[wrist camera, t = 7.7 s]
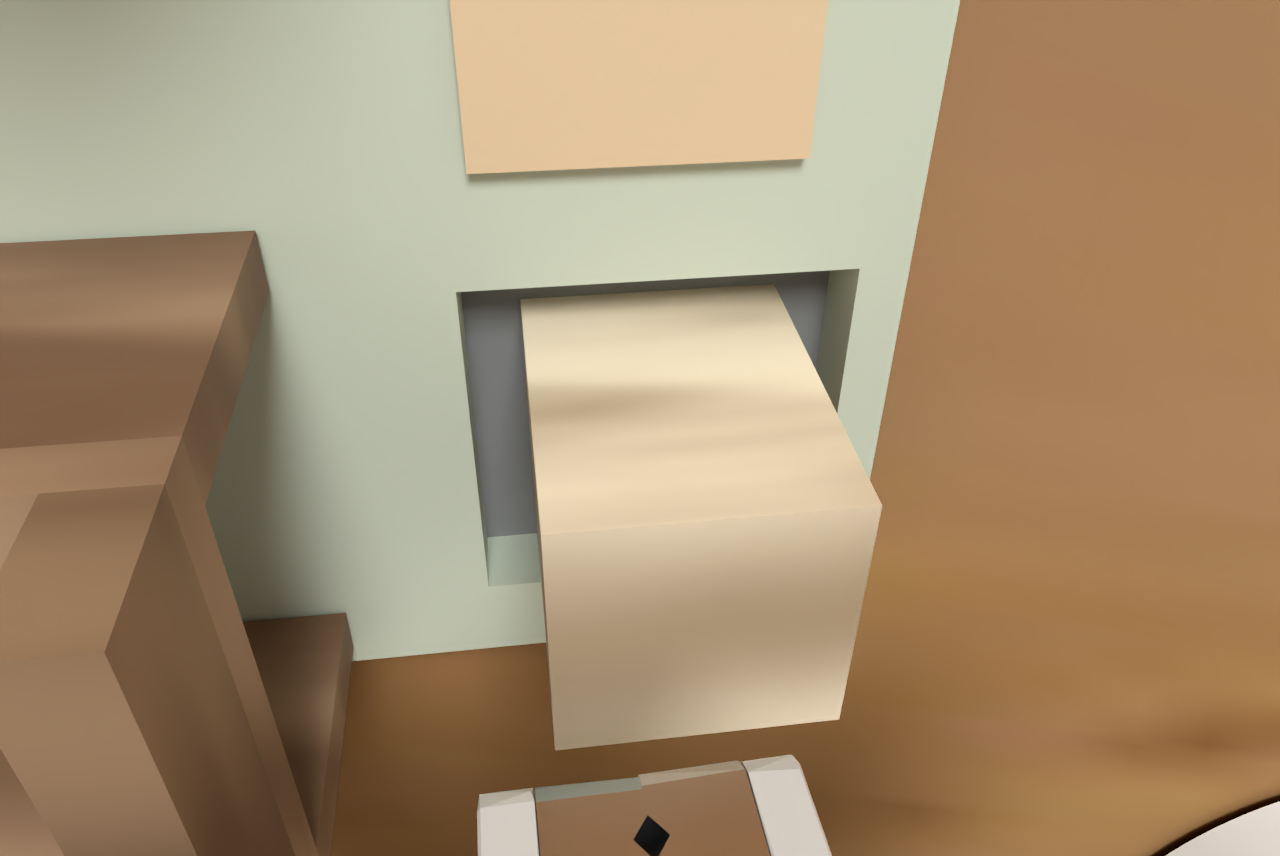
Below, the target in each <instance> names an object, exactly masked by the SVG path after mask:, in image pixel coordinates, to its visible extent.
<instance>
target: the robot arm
mask: <svg viewBox="0 0 1280 856" xmlns="http://www.w3.org/2000/svg"><path fill="white" fill-rule="evenodd" d="M535 800H536V808H535ZM536 815H537V818H536ZM477 834H478V856H832V854H831V851H830V848H829V845H828V842H827V839H826V837H825V834H824V831H823V828H822V825H821V822H820V819H819V817H818V814H817V811H816V808H815V805H814V802H813V800H812V797H811V794H810V791H809V788H808V785H807V782H806V780H805V777H804V774H803V771H802V768H801V765H800V763H799V762H798V761H797V760H796V759H795V757H794V756H793V755H783V756H776V757H769V758H762V759H755V760H748V761H742V762H739V761H738V760H736V761H730V762H723V763H716V764H709V765H702V766H695V767H688V768H681V769H674V770H667V771H661V772H654V773H647V774H640V775H638V777H634V778H624V779H614V780H605V781H595V782H586V783H576V784H566V785H557V786H547V787H538V788H535V799H534V790H533V788H527V789H519V790H511V791H503V792H495V793H487V794H479V801H478V808H477ZM1166 856H1280V801H1279V802H1276V803H1273V804H1270V805H1268V806H1265V807H1262V808H1259V809H1257V810H1254V811H1252V812H1249V813H1247V814H1244V815H1242V816H1240V817H1237V818H1235V819H1233V820H1230V821H1228V822H1226V823H1224V824H1222V825H1220V826H1218V827H1215V828H1213V829H1212V830H1210V831H1208V832H1206V833H1204V834H1202V835H1200V836H1198V837H1196V838H1194V839H1192V840H1191V841H1189V842H1187V843H1185V844H1184V845H1182V846H1180V847H1179V848H1177V849H1175V850H1173V851H1172V852H1170V853H1169V854H1167V855H1166Z"/></svg>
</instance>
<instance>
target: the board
mask: <svg viewBox="0 0 1280 856" xmlns="http://www.w3.org/2000/svg"><path fill="white" fill-rule="evenodd" d="M959 3H960V0H0V243H16V242H36V241H56V240H76V239H96V238H115V237H135V236H155V235H175V234H195V233H215V232H235V231H254V230H255V232H256V236H257V240H258V244H259V248H260V253H261V257H262V261H263V265H264V270H265V274H266V278H267V282H268V287H269V291H270V292H269V295H268V298H267V302H266V305H265V308H264V312H263V315H262V318H261V322H260V325H259V328H258V332H257V335H256V338H255V341H254V345H253V348H252V351H251V355H250V358H249V361H248V365H247V368H246V371H245V375H244V378H243V381H242V385H241V388H240V391H239V395H238V398H237V401H236V405H235V408H234V411H233V415H232V418H231V421H230V424H229V428H228V431H227V434H226V438H225V441H224V444H223V448H222V451H221V454H220V458H219V461H218V464H217V468H216V471H215V474H214V478H213V481H212V484H211V488H210V491H209V494H208V498H207V501H206V504H205V508H206V511H207V514H208V517H209V520H210V523H211V527H212V530H213V533H214V536H215V539H216V542H217V545H218V548H219V551H220V554H221V557H222V560H223V563H224V566H225V569H226V573H227V576H228V579H229V582H230V585H231V588H232V591H233V594H234V597H235V600H236V603H237V606H238V609H239V612H240V615H241V618H242V622H250V621H261V620H271V619H282V618H293V617H304V616H315V615H326V614H336V613H346V617H347V621H348V625H349V630H350V634H351V638H352V642H353V647H354V650H353V659H352V661H360V660H370V659H381V658H391V657H401V656H411V655H422V654H432V653H442V652H452V651H463V650H473V649H483V648H493V647H504V646H514V645H524V644H534V643H545V642H546V636H545V624H544V611H543V599H542V587H541V575H540V563H539V551H538V539H537V527H536V515H535V503H534V490H533V476H532V461H531V447H530V432H529V418H528V403H527V389H526V374H525V360H524V345H523V331H522V317H521V302H520V299H532V298H549V297H565V296H582V295H599V294H616V293H633V292H650V291H666V290H683V289H700V288H717V287H734V286H750V285H767V284H774V285H775V287H776V289H777V291H778V293H779V295H780V298H781V300H782V302H783V304H784V306H785V308H786V310H787V312H788V314H789V316H790V318H791V320H792V322H793V324H794V326H795V328H796V330H797V332H798V334H799V336H800V338H801V341H802V343H803V345H804V347H805V349H806V351H807V353H808V355H809V357H810V359H811V361H812V363H813V365H814V367H815V369H816V371H817V373H818V375H819V377H820V379H821V382H822V384H823V386H824V388H825V390H826V392H827V394H828V396H829V398H830V400H831V402H832V404H833V406H834V408H835V410H836V412H837V414H838V416H839V418H840V420H841V422H842V425H843V427H844V429H845V431H846V433H847V435H848V437H849V439H850V441H851V443H852V445H853V447H854V449H855V451H856V453H857V455H858V457H859V459H860V461H861V463H862V465H863V468H864V470H865V472H866V474H867V476H868V478H869V480H870V476H871V470H872V465H873V460H874V455H875V449H876V444H877V439H878V433H879V428H880V423H881V417H882V412H883V407H884V401H885V396H886V391H887V386H888V380H889V375H890V370H891V364H892V359H893V354H894V348H895V343H896V338H897V332H898V327H899V322H900V317H901V311H902V306H903V301H904V295H905V290H906V285H907V279H908V274H909V269H910V263H911V258H912V253H913V248H914V242H915V237H916V232H917V226H918V221H919V216H920V210H921V205H922V200H923V194H924V189H925V184H926V179H927V173H928V168H929V163H930V157H931V152H932V147H933V141H934V136H935V131H936V125H937V120H938V115H939V109H940V104H941V99H942V94H943V88H944V83H945V78H946V72H947V67H948V62H949V56H950V51H951V46H952V40H953V35H954V30H955V25H956V19H957V14H958V9H959Z"/></svg>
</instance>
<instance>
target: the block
mask: <svg viewBox="0 0 1280 856" xmlns="http://www.w3.org/2000/svg"><path fill="white" fill-rule="evenodd" d="M520 302H521V317H522V331H523V345H524V360H525V374H526V389H527V403H528V418H529V432H530V447H531V461H532V476H533V490H534V503H535V515H536V527H537V539H538V551H539V563H540V575H541V587H542V599H543V611H544V624H545V636H546V648H547V660H548V672H549V684H550V696H551V708H552V720H553V732H554V744H555V751H556V750H565V749H574V748H583V747H592V746H601V745H610V744H620V743H629V742H638V741H647V740H656V739H665V738H674V737H683V736H692V735H702V734H711V733H720V732H729V731H738V730H747V729H756V728H765V727H775V726H784V725H793V724H802V723H811V722H820V721H829V720H838V719H839V717H840V712H841V707H842V703H843V698H844V693H845V688H846V683H847V678H848V673H849V668H850V663H851V658H852V653H853V648H854V643H855V638H856V633H857V628H858V623H859V618H860V613H861V608H862V603H863V599H864V594H865V589H866V584H867V579H868V574H869V569H870V564H871V559H872V554H873V549H874V544H875V539H876V534H877V529H878V524H879V519H880V514H881V509H882V504H881V502H880V500H879V498H878V496H877V494H876V492H875V490H874V488H873V486H872V484H871V482H870V480H869V478H868V476H867V474H866V472H865V470H864V468H863V465H862V463H861V461H860V459H859V457H858V455H857V453H856V451H855V449H854V447H853V445H852V443H851V441H850V439H849V437H848V435H847V433H846V431H845V429H844V427H843V425H842V422H841V420H840V418H839V416H838V414H837V412H836V410H835V408H834V406H833V404H832V402H831V400H830V398H829V396H828V394H827V392H826V390H825V388H824V386H823V384H822V382H821V379H820V377H819V375H818V373H817V371H816V369H815V367H814V365H813V363H812V361H811V359H810V357H809V355H808V353H807V351H806V349H805V347H804V345H803V343H802V341H801V338H800V336H799V334H798V332H797V330H796V328H795V326H794V324H793V322H792V320H791V318H790V316H789V314H788V312H787V310H786V308H785V306H784V304H783V302H782V300H781V298H780V295H779V293H778V291H777V289H776V287H775V285H774V284H767V285H750V286H734V287H717V288H700V289H683V290H666V291H650V292H633V293H616V294H599V295H582V296H565V297H549V298H532V299H520Z"/></svg>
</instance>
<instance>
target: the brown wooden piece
mask: <svg viewBox="0 0 1280 856" xmlns="http://www.w3.org/2000/svg"><path fill="white" fill-rule="evenodd" d="M269 292H270V291H269V287H268V282H267V278H266V274H265V270H264V265H263V261H262V257H261V253H260V248H259V244H258V240H257V236H256V232H255V230H254V231H235V232H215V233H195V234H175V235H155V236H135V237H115V238H96V239H76V240H56V241H36V242H16V243H0V856H331V851H332V842H333V832H334V823H335V814H336V805H337V796H338V787H339V778H340V769H341V760H342V750H343V741H344V732H345V723H346V714H347V705H348V696H349V687H350V677H351V668H352V659H353V650H354V647H353V642H352V638H351V634H350V630H349V625H348V621H347V617H346V613H336V614H326V615H315V616H304V617H293V618H282V619H271V620H261V621H250V622H242V618H241V615H240V612H239V609H238V606H237V603H236V600H235V597H234V594H233V591H232V588H231V585H230V582H229V579H228V576H227V573H226V569H225V566H224V563H223V560H222V557H221V554H220V551H219V548H218V545H217V542H216V539H215V536H214V533H213V530H212V527H211V523H210V520H209V517H208V514H207V511H206V508H205V504H206V501H207V498H208V494H209V491H210V488H211V484H212V481H213V478H214V474H215V471H216V468H217V464H218V461H219V458H220V454H221V451H222V448H223V444H224V441H225V438H226V434H227V431H228V428H229V424H230V421H231V418H232V415H233V411H234V408H235V405H236V401H237V398H238V395H239V391H240V388H241V385H242V381H243V378H244V375H245V371H246V368H247V365H248V361H249V358H250V355H251V351H252V348H253V345H254V341H255V338H256V335H257V332H258V328H259V325H260V322H261V318H262V315H263V312H264V308H265V305H266V302H267V298H268V295H269Z"/></svg>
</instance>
